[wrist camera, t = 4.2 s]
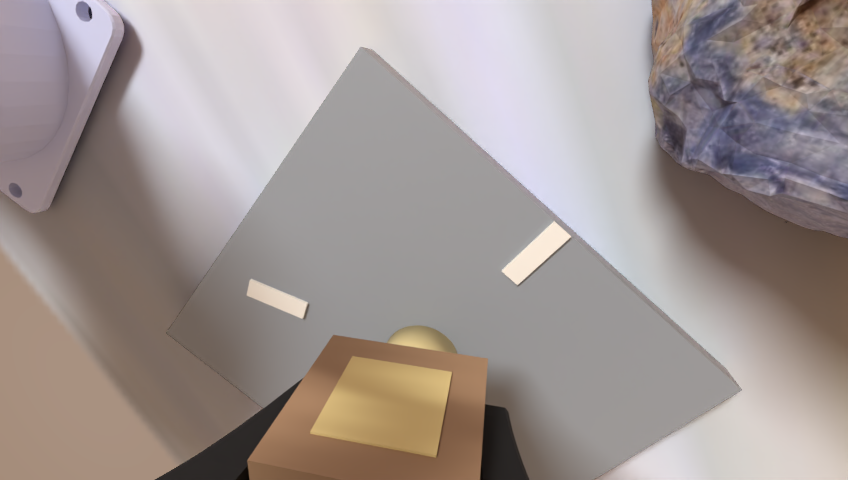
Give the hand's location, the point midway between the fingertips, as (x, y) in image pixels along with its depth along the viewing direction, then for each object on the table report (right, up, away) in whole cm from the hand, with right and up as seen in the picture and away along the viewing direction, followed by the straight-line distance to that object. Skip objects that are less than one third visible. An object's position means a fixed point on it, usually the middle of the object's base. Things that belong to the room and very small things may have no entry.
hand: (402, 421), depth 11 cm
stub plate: (+1, +1, +3) cm, 4 cm away
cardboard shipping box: (0, 0, 0) cm, 0 cm away
